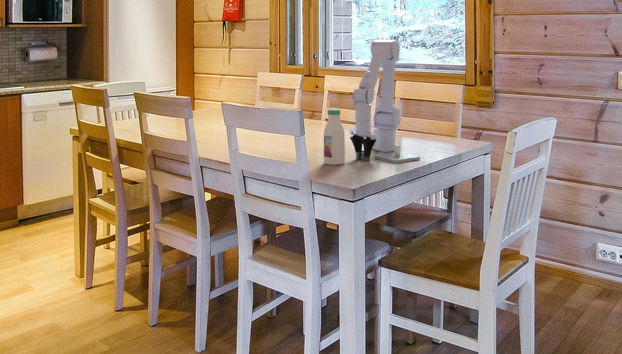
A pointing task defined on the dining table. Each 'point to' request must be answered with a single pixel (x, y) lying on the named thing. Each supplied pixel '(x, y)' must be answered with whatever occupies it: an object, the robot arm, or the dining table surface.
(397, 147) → the stand
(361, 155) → the split ring
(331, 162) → the milk bottle
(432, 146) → the dining table surface
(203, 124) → the dining table surface
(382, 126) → the robot arm
